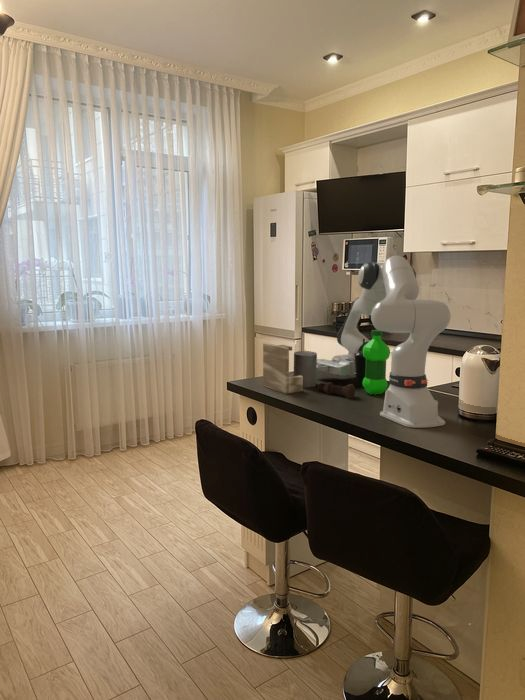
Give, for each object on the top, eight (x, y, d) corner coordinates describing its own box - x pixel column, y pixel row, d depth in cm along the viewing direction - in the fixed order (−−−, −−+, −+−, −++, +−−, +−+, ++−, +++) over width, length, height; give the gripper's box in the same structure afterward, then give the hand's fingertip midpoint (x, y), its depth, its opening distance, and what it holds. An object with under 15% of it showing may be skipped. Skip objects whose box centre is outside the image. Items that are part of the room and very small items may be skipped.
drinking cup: (351, 387, 221) (353, 339, 217) (354, 383, 228) (355, 337, 225) (370, 389, 219) (372, 340, 215) (372, 384, 226) (374, 337, 222)
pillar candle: (289, 383, 228) (289, 349, 225) (308, 381, 232) (309, 347, 229) (301, 388, 219) (301, 352, 217) (321, 386, 224) (321, 350, 221)
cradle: (280, 383, 228) (280, 341, 225) (303, 391, 215) (304, 346, 212) (263, 385, 224) (263, 343, 221) (285, 393, 210) (285, 348, 207)
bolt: (320, 395, 216) (352, 401, 206) (314, 391, 212) (346, 396, 202) (324, 382, 217) (356, 386, 207) (318, 377, 214) (350, 382, 204)
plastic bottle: (363, 396, 207) (365, 332, 203) (360, 389, 217) (362, 328, 213) (389, 396, 206) (392, 332, 202) (385, 390, 217) (387, 328, 212)
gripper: (324, 354, 243) (300, 357, 235) (356, 361, 226) (330, 365, 218) (324, 368, 244) (300, 371, 236) (355, 376, 227) (330, 380, 220)
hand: (315, 368), depth 227 cm, fingers closed
